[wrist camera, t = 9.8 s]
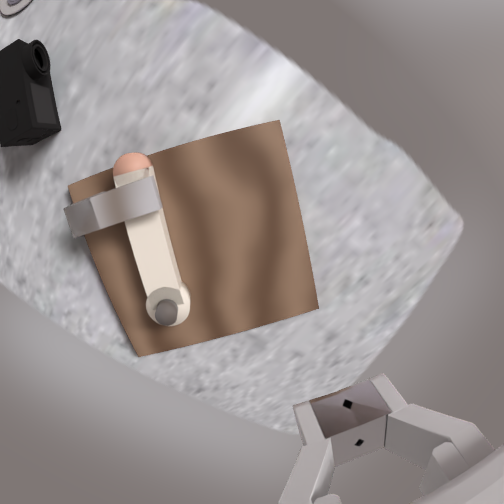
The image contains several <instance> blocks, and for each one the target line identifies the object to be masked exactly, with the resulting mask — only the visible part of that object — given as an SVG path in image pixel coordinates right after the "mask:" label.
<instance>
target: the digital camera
mask: <svg viewBox="0 0 504 504" xmlns="http://www.w3.org/2000/svg"><path fill="white" fill-rule="evenodd" d="M53 130H54V131H53ZM60 130H61V125H60V121H59V116H58V112H57V107H56V102H55V97H54V92H53V87H52V81H51V76H50V60H49V56H48V53H47V50H46V48H45V47H44V45H43V44H42V43H41V42H40V41H39V40H34V41H32V42H31V43H29V44H28V43H26V42H24V41H22V40H20V39H18V40H16V41H14V42H13V43H11V44H10V45H8V46H7V47H5V48H4V49H2V50H1V51H0V144H1V147H8V146H22V145H33V144H35V143H37V142H39V141H41V140H43V139H45V138H47V137H49V136H51V135H53V134H55V133H57V132H59V131H60Z"/></svg>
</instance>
